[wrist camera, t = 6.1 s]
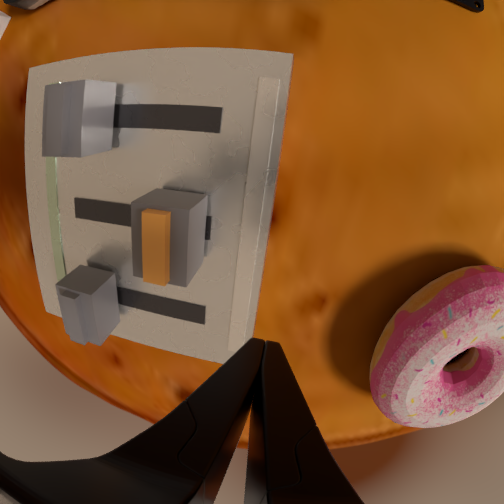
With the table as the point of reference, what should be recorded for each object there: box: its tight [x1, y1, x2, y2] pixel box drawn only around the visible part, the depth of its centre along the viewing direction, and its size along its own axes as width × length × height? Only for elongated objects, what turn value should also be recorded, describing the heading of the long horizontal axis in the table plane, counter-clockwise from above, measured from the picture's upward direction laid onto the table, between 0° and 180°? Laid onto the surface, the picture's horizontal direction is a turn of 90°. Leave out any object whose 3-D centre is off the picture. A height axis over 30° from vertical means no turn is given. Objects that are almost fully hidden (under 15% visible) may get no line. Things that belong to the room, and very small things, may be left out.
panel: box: [25, 47, 294, 364], centre depth 19 cm, size 18×20×2 cm
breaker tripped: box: [131, 188, 208, 287], centre depth 16 cm, size 3×4×4 cm
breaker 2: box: [55, 264, 120, 346], centre depth 19 cm, size 3×4×4 cm
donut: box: [369, 265, 504, 428], centre depth 18 cm, size 14×13×5 cm
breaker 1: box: [42, 79, 117, 158], centre depth 14 cm, size 3×4×4 cm
